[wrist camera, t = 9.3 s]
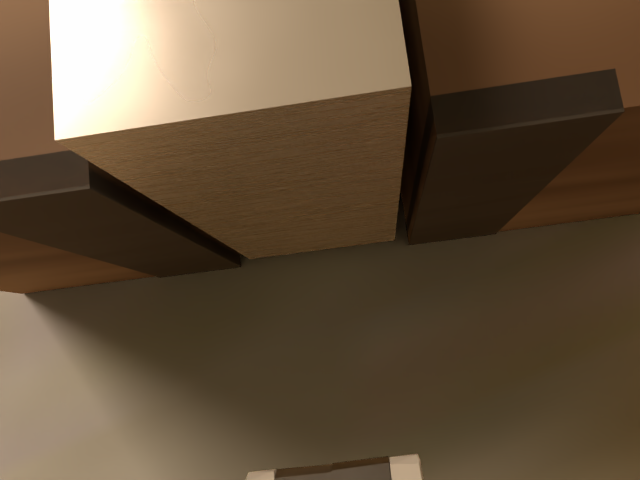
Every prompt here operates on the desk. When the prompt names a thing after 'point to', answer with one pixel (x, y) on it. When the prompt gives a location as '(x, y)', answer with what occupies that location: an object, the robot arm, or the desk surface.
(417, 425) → the desk surface
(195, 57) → the elongated beige block
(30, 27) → the housing
